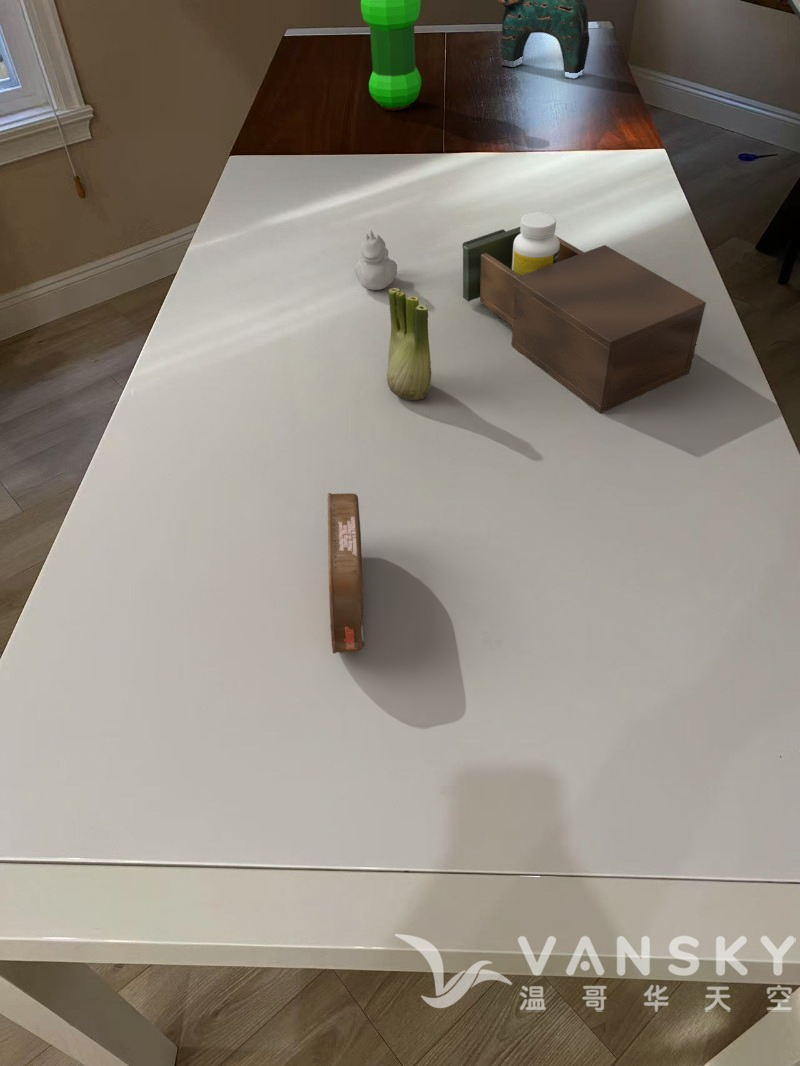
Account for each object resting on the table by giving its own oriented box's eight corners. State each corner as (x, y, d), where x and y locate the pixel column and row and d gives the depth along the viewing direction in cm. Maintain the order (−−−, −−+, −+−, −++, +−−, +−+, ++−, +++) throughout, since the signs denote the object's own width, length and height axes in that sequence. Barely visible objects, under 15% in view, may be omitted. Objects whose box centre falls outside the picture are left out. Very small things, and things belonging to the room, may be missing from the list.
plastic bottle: (426, 96, 159) (421, -62, 141) (419, 116, 151) (413, -47, 134) (374, 96, 160) (364, -60, 142) (365, 116, 153) (352, -46, 135)
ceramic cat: (490, 66, 169) (493, -51, 155) (508, 57, 172) (512, -59, 158) (574, 82, 160) (585, -41, 145) (591, 73, 163) (604, -49, 149)
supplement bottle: (557, 308, 99) (564, 229, 92) (511, 309, 99) (515, 231, 92) (553, 285, 103) (559, 208, 96) (509, 286, 103) (512, 209, 96)
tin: (331, 540, 77) (320, 472, 71) (365, 537, 77) (356, 469, 71) (333, 675, 66) (320, 608, 60) (372, 672, 66) (363, 605, 60)
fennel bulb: (437, 403, 90) (434, 305, 82) (393, 411, 90) (386, 313, 81) (425, 374, 94) (422, 277, 86) (383, 381, 94) (375, 284, 85)
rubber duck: (350, 294, 108) (344, 236, 102) (366, 270, 112) (360, 212, 106) (390, 298, 106) (386, 239, 101) (404, 274, 111) (401, 216, 105)
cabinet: (511, 346, 97) (514, 277, 91) (596, 312, 102) (604, 244, 95) (600, 413, 88) (610, 342, 81) (689, 373, 92) (706, 302, 85)
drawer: (444, 283, 106) (443, 232, 102) (516, 257, 110) (519, 207, 105) (533, 350, 95) (537, 296, 90) (611, 319, 99) (619, 265, 94)
